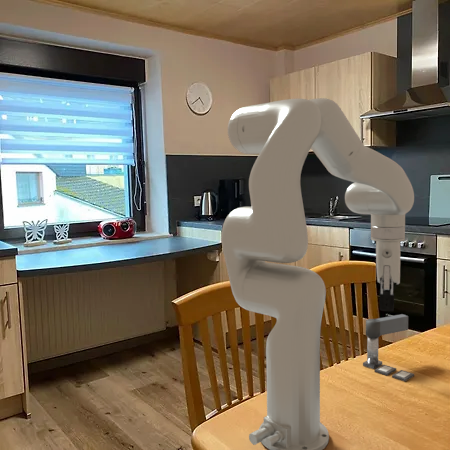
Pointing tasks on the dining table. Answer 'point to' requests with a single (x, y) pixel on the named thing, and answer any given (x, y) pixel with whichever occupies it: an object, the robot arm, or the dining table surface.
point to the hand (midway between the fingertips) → (386, 310)
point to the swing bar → (386, 325)
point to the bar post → (372, 353)
